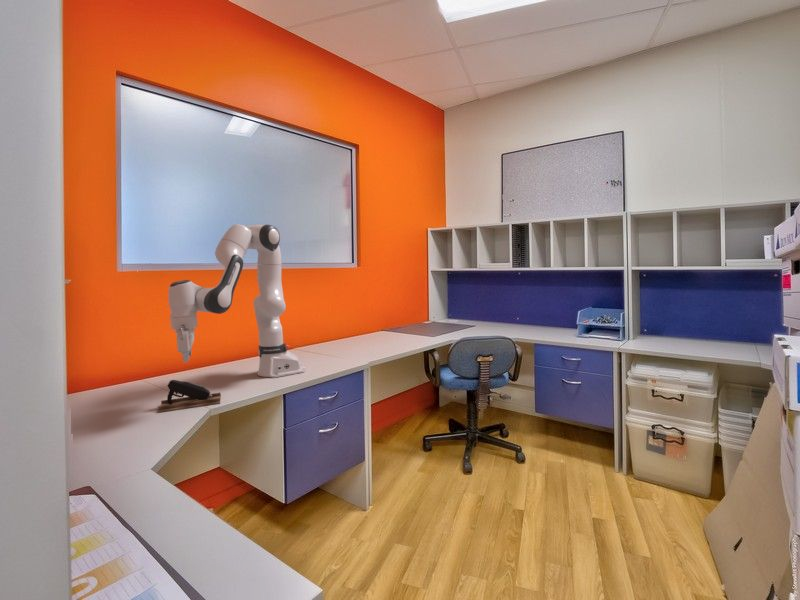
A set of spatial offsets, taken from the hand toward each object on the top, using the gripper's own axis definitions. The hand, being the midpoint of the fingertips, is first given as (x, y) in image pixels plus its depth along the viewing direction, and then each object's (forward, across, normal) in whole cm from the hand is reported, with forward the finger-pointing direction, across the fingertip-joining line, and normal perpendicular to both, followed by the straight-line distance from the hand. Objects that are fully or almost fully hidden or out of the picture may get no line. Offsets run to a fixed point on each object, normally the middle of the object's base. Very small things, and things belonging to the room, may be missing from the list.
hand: (187, 358), depth 151 cm
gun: (+17, +1, 0) cm, 17 cm away
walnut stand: (+18, 0, 0) cm, 18 cm away
